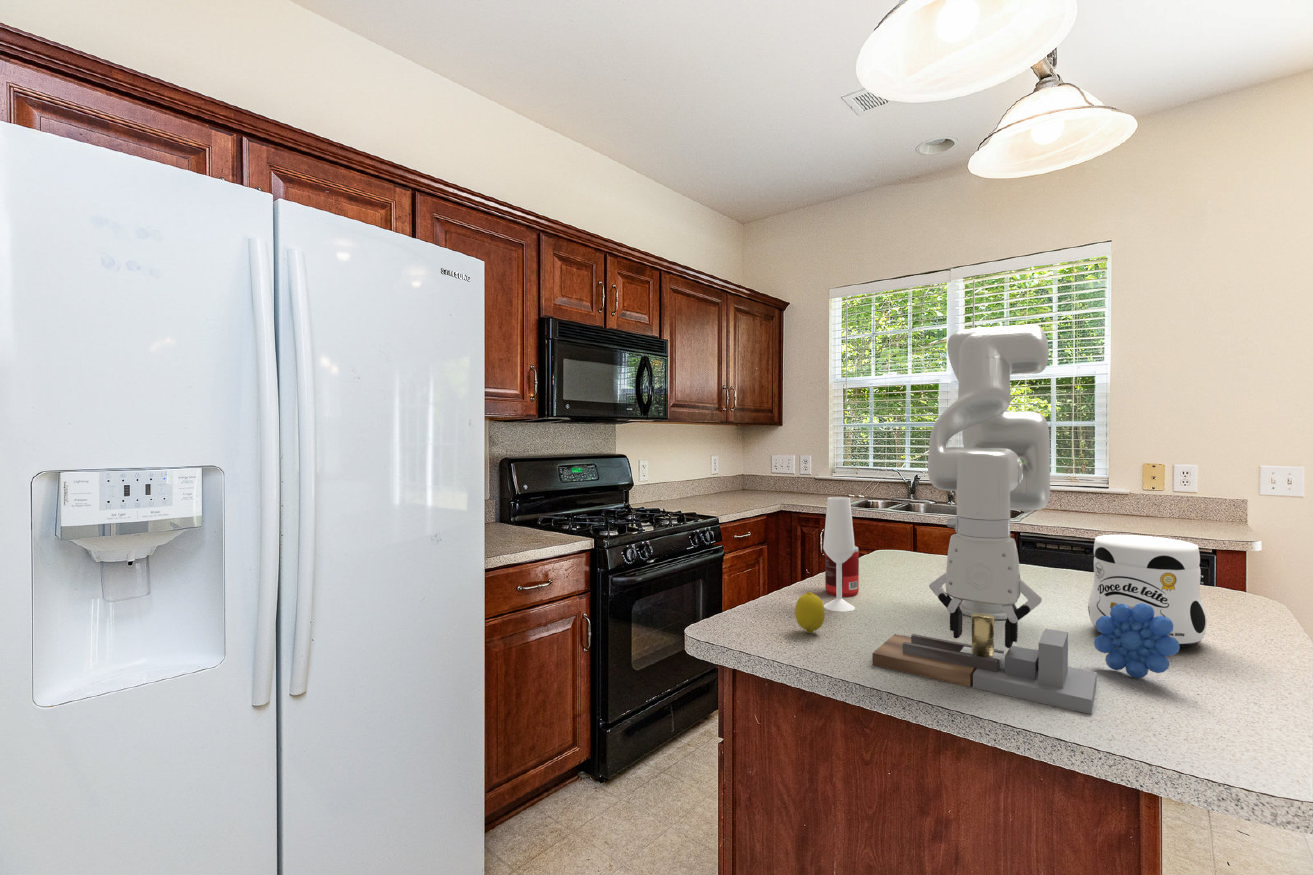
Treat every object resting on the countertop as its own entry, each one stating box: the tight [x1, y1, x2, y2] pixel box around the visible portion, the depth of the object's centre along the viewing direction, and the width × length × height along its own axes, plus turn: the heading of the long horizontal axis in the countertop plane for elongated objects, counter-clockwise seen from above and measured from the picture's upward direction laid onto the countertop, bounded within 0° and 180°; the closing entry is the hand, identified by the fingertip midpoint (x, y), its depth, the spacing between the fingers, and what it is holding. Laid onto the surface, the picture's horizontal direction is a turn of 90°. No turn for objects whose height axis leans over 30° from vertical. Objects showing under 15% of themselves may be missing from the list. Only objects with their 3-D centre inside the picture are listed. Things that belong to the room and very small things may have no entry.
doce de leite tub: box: [1087, 534, 1208, 648], centre depth 116 cm, size 17×17×18 cm
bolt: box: [960, 613, 1006, 670], centre depth 98 cm, size 3×10×7 cm, turn 52°
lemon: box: [794, 591, 826, 634], centre depth 120 cm, size 6×6×8 cm
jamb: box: [972, 628, 1097, 715], centre depth 95 cm, size 12×15×8 cm
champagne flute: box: [822, 496, 856, 613], centre depth 137 cm, size 7×7×24 cm
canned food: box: [824, 545, 860, 598], centre depth 149 cm, size 8×8×11 cm
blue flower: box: [1093, 603, 1181, 679], centre depth 98 cm, size 12×7×12 cm, turn 27°
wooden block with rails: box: [871, 633, 1005, 688], centre depth 103 cm, size 12×18×4 cm, turn 52°
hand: (982, 639), depth 99 cm, fingers open, 6 cm apart
